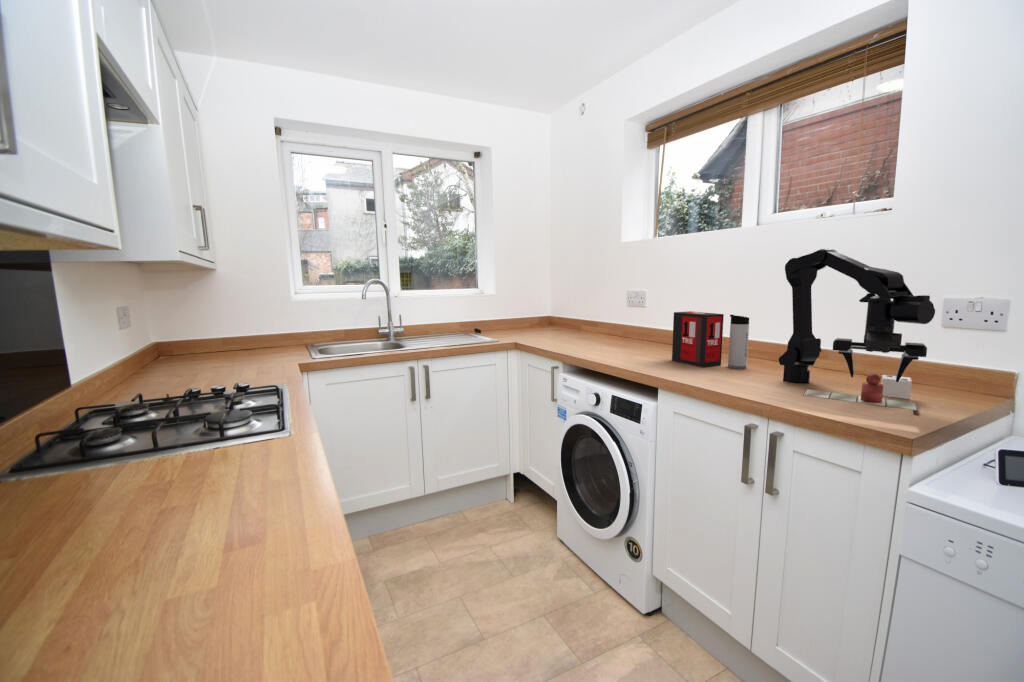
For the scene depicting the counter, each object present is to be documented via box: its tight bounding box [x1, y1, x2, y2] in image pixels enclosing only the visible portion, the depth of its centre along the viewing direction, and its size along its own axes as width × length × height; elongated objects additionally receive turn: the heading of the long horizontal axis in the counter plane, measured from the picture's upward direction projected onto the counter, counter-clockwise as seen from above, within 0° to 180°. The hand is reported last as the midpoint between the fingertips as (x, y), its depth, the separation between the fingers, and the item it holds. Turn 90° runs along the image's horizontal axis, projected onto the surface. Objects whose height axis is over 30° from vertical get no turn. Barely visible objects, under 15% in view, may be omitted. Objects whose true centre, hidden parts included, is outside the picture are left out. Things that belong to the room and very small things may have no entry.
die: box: [881, 374, 913, 400], centre depth 123 cm, size 6×6×6 cm
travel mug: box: [727, 314, 750, 370], centre depth 167 cm, size 6×7×20 cm
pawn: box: [860, 373, 884, 403], centre depth 118 cm, size 4×4×7 cm
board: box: [802, 388, 919, 416], centre depth 120 cm, size 24×9×1 cm, turn 51°
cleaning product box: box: [671, 311, 725, 369], centre depth 176 cm, size 16×9×20 cm, turn 24°
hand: (874, 379), depth 117 cm, fingers open, 9 cm apart
